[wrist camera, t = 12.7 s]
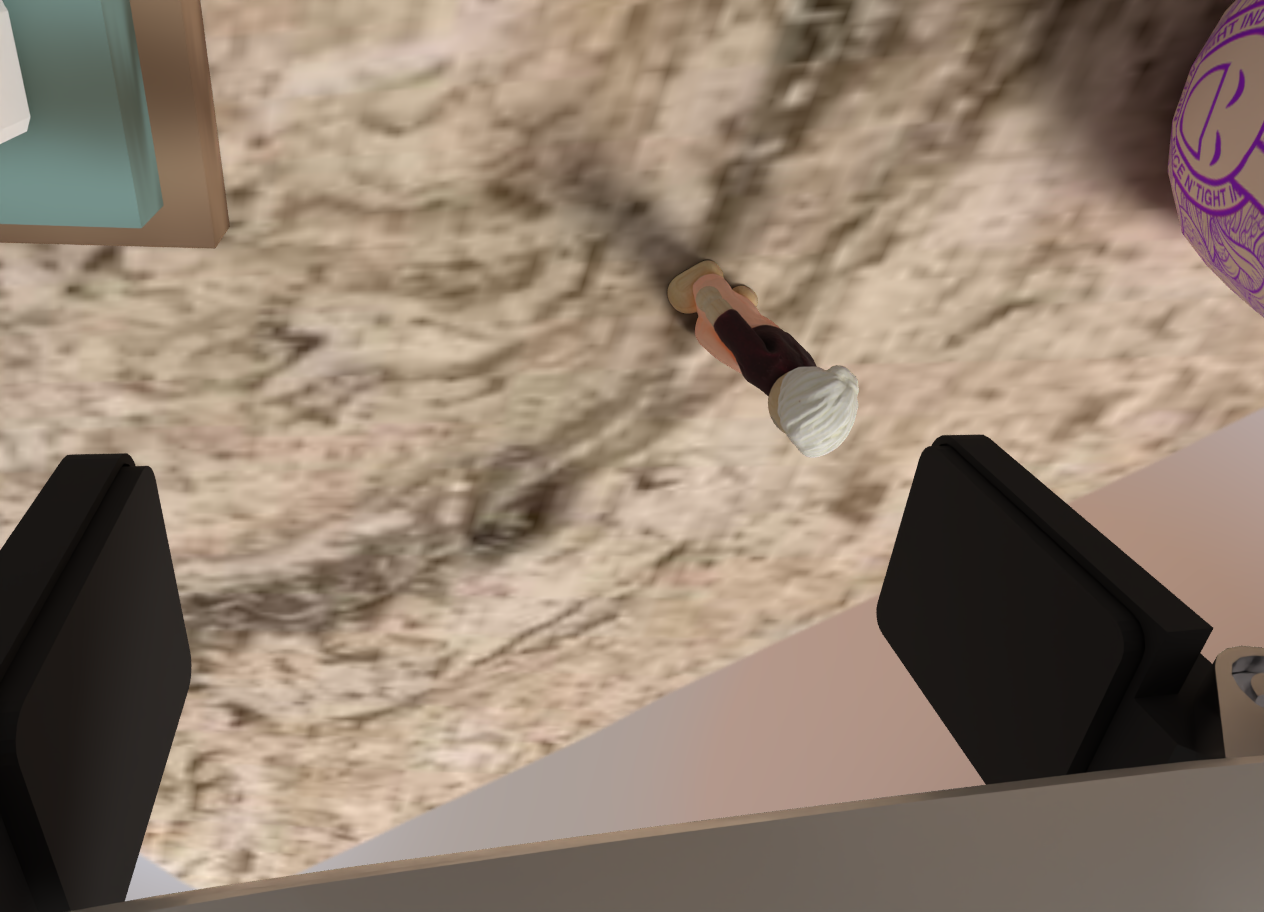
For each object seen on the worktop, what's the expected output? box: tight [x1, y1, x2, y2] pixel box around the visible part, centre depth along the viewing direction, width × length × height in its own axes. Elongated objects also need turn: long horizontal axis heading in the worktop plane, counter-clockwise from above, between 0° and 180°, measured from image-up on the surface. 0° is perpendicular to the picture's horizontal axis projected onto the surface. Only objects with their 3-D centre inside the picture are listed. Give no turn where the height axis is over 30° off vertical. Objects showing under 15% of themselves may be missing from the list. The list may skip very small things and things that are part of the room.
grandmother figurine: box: [667, 261, 859, 457], centre depth 35 cm, size 8×4×13 cm, turn 61°
